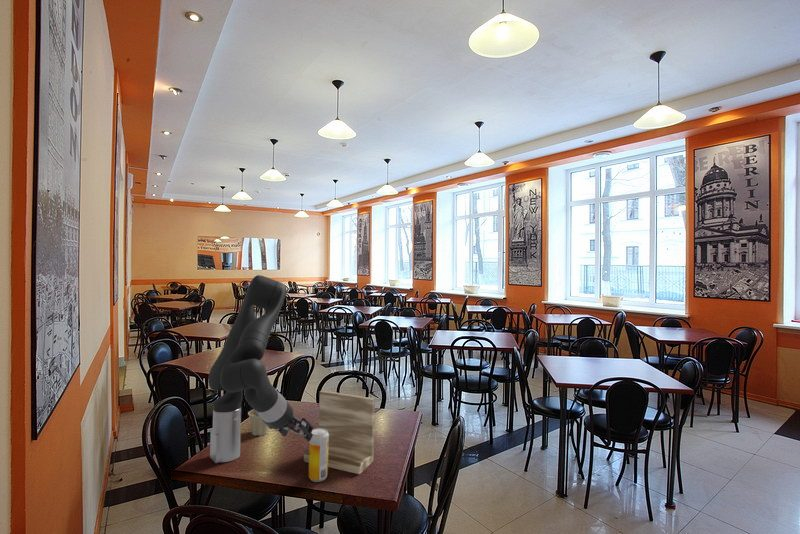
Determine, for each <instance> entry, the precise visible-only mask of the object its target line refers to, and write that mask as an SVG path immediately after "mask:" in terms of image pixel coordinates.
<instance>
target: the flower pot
mask: <svg viewBox="0 0 800 534" xmlns="http://www.w3.org/2000/svg"><path fill="white" fill-rule="evenodd" d="M247 415H248V417H249V421H250V427H251V428H250V429H251V434H252V435H253V436H260V437H261V436H264V435H267V434H268V432H269V429H270V428H269V427H268V426H267V425H266V424H265V423H264V422H263V421H262V418H261V417H260V416H259V415H258V414H257V412H256V411H255V410H254V409H251V410H250V411H248V412H247Z"/></svg>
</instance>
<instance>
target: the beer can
mask: <svg viewBox="0 0 800 534" xmlns="http://www.w3.org/2000/svg"><path fill="white" fill-rule="evenodd" d="M312 434H313V436H312V438H311V440H310V441H308V444H309V446H308V450H309V462H308V478H309V479H310V481H312V482H314V483H318V482H323V481H325V480H326V479H327V477H328V475H329V467H328V442H329V434H328V432H327V430H326V429H323V428H319V427H318V428H313V431H312Z"/></svg>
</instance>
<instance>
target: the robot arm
mask: <svg viewBox="0 0 800 534" xmlns="http://www.w3.org/2000/svg"><path fill="white" fill-rule="evenodd" d="M286 295H287V286H286V284H284V283H283V282H280V281H278V280H275V279H272V278H270V277H267V276H264V275H262V274H261V275H260V274H258V275H256V276H254V277H253V278H252V279H251V281H250V283H249V285H248V287H247V290H246V292H245V295H244V298H243V301H242V304H241V306H240V309H239V311H238V314H237V316H236V319H235V320H234V323H233V325H232V326H231V329H230V330H229V332H228V334H227V337H226V340H225V342H224V345H223V347H222V348H221V351H220V353H219V355H218V356H217V358H216V359H215V361H214V363H213V365H212V366H211V368H210V370H209V374H208V378H207V382H208V386H209V388H210V390H212V391H214V392H223V391H225V394H223V395H221V396H220V397H218V398H216V400H214V402H213V405H212V406H213V407H212V430H210V442H209V443H210V444H209V445H210V446H209V449H210V450H209V451H210V452H209V458H210V459H211V460H212V461H213V462H214V464H218V463H228V462H232V461H235V460H237V459H238V458H239V457H241V431H242V430H241V427H242V426H241V424H242V402H243V396H244V399H245V400H246V402H247V404H248V405H249V406H250V407H251V408H252V410H255V411H256V412H257V414H258V415H259V416H260V417H261V418H262V421H263V422H264V423H265V424H266V425H267V426H268V427H269V428H268V429H270V430H275V432H279V433H280V435H282V436H283V437H287V436H288V433H289V431H290V432H292V433H293V434H295V435H298V434H299V435H301V436H302V437H303V438H304V439H305V440H306V441H307V442H309V441H310V440H311V438H312V436H313V434H312V431H313V429H314V426H313V425H312V424H311V423H310V422H309V421H308V420H307V419H306V418H305V417H302V418H301V419H299V418H297V417H296V415H294V409H293V406H292V405H291V404H290V403H289V402H288V400H286V397H284V396H283V395H282V394H281V393H280V392H279V391H278V390H277V389H276V388H275V387H274V385H273V384H272V383H271V382H270V378H269V376H268V373H267V369H266V365H265V364H264V363H263V362H262V361H261V360H262V359H263V357H264V356H265V352H266V348H267V345H268V341H269V339H270V336H271V335H270V334H271V332H272V329H273V328H274V326H275V323H276V322H277V321H276V320H277V319H278V317H279V314H280V311H281V309H282V307H283V304H284V301H285V298H286ZM254 306H255V307H258V308H262V309H264V310H267V311H266V312H264V313H263V314H262V315H261V316H259V317H256V314H255V307H254ZM243 393H244V395H243ZM296 426H297V428H296ZM295 428H296V429H295Z"/></svg>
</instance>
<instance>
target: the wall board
mask: <svg viewBox="0 0 800 534" xmlns="http://www.w3.org/2000/svg"><path fill="white" fill-rule="evenodd" d="M375 400H376V398H375V397H366V396H361V395H355V394H350V393H349V394H348V393H340V392H335V391H334V392H333V391H328V390H320V391H319V400H318V401H319V404H318V406H319V407H318V428H323V429H326V430H327V432H328V434H329V442H328V468H332V469H336V470H339V471H344V472H347V473H353V474H355V475H356V474H357V475H361V474H362V473H363V472H364V471H365V470H366V469H367V468H368V467H369V466H370V465H371V464H372V463H374V460H375V459H374V458H375V455H374V454H375V409H376V407H375V406H376V405H375V403H376V401H375ZM303 462H305V463H309V449H305V450H303Z"/></svg>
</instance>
